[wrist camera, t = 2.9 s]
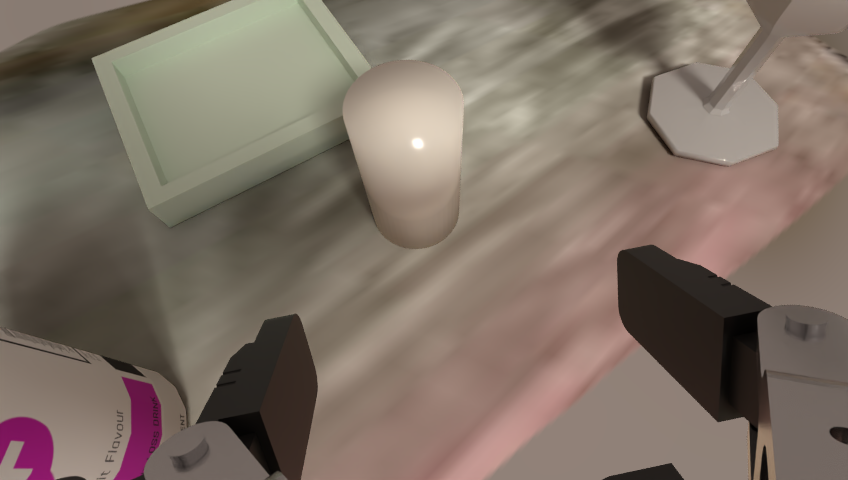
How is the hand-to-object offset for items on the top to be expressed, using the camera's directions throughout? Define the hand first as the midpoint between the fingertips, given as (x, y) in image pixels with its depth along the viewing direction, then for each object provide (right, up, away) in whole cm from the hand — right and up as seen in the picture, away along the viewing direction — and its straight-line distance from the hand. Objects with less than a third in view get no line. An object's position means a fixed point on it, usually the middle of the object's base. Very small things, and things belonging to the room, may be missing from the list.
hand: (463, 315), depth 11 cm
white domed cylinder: (-2, +4, +19) cm, 19 cm away
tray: (-14, +12, +24) cm, 30 cm away
